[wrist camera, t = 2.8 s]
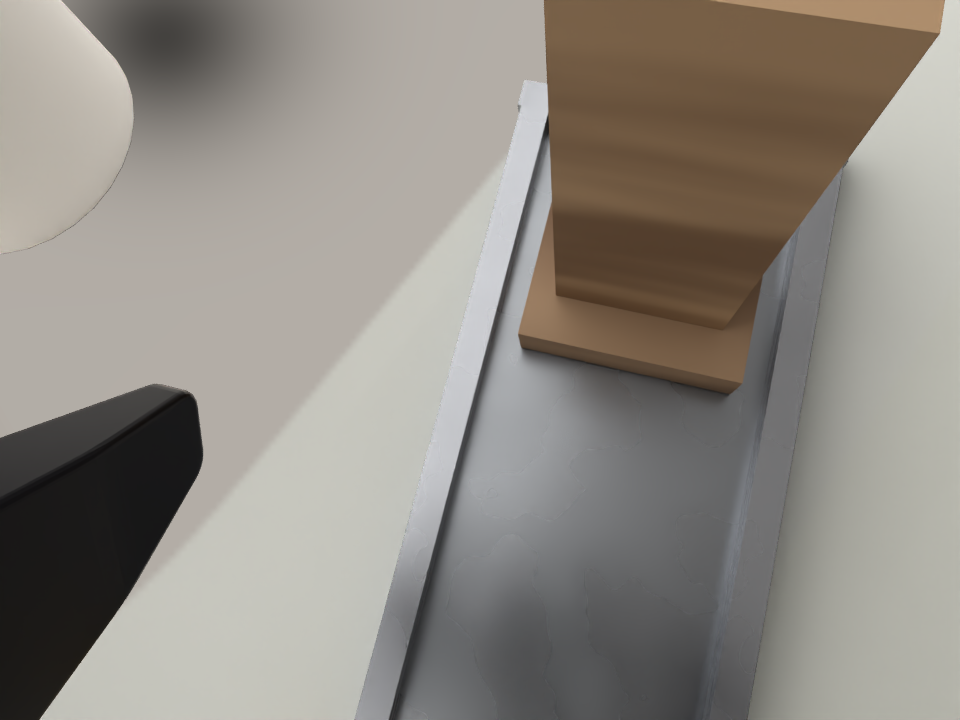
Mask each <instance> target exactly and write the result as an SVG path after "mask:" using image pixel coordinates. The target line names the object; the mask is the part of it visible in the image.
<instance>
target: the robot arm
mask: <svg viewBox="0 0 960 720" xmlns="http://www.w3.org/2000/svg"><path fill="white" fill-rule="evenodd" d="M202 461H203V446H202V439H201V430H200V422H199V414H198V406H197V401H196V399H195V398H194V396H193V394H191V393H190V392H188V391H186V390H182V389H178V388H174V387H170V386H166V385H161V384H152V385H148V386H145V387H143V388H140V389H137V390H134V391H131V392H129V393H126V394H123V395H120V396H117V397H114V398H111V399H109V400H106V401H103V402H100V403H97V404H95V405H92V406H89V407H86V408H84V409H80V410H78V411H75V412H72V413H69V414H66V415H64V416H61V417H58V418H55V419H52V420H49V421H47V422H44V423H41V424H38V425H35V426H33V427H30V428H27V429H24V430H21V431H18V432H15V433H13V434H10V435H7V436H4V437H2V438H0V720H39V719H40V718H41V717H42V715H43V714H44V712H45V711H46V710H47V708H48V707H49V706H50V704H51V703H52V701H53V700H54V699H55V697H56V696H57V694H58V693H59V692H60V690H61V689H62V687H63V686H64V685H65V683H66V682H67V681H68V679H69V678H70V676H71V675H72V674H73V672H74V671H75V669H76V668H77V667H78V665H79V664H80V663H81V661H82V660H83V658H84V657H85V656H86V654H87V653H88V651H89V650H90V649H91V647H92V646H93V645H94V643H95V642H96V640H97V639H98V638H99V636H100V635H101V633H102V632H103V631H104V629H105V628H106V627H107V625H108V624H109V622H110V621H111V620H112V618H113V617H114V615H115V614H116V612H117V611H118V610H119V608H120V607H121V605H122V604H123V602H124V601H125V599H126V598H127V596H128V595H129V593H130V592H131V590H132V588H133V587H134V585H135V583H136V582H137V580H138V578H139V577H140V575H141V573H142V572H143V570H144V568H145V566H146V564H147V563H148V561H149V559H150V558H151V556H152V554H153V552H154V551H155V549H156V547H157V545H158V543H159V542H160V540H161V539H162V537H163V535H164V533H165V532H166V530H167V528H168V526H169V524H170V523H171V521H172V519H173V518H174V516H175V514H176V512H177V511H178V509H179V507H180V505H181V504H182V502H183V500H184V498H185V497H186V495H187V493H188V492H189V490H190V488H191V486H192V485H193V483H194V481H195V479H196V478H197V476H198V474H199V471H200V468H201V465H202Z"/></svg>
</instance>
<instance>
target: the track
mask: <svg viewBox="0 0 960 720" xmlns="http://www.w3.org/2000/svg"><path fill="white" fill-rule="evenodd" d="M518 109H519V116H518V119H517V123H516V127H515V131H514V134H513V138H512V141H511V145H510V149H509V152H508V156H507V160H506V163H505V167H504V171H503V175H502V178H501V182H500V186H499V189H498V193H497V197H496V200H495V204H494V208H493V211H492V215H491V219H490V222H489V226H488V230H487V233H486V237H485V241H484V244H483V248H482V252H481V256H480V259H479V263H478V267H477V270H476V274H475V278H474V281H473V285H472V289H471V292H470V296H469V300H468V303H467V307H466V311H465V314H464V318H463V322H462V325H461V329H460V333H459V337H458V340H457V344H456V348H455V351H454V355H453V359H452V362H451V366H450V370H449V373H448V377H447V381H446V384H445V388H444V392H443V395H442V399H441V403H440V407H439V410H438V414H437V418H436V421H435V425H434V429H433V432H432V436H431V440H430V443H429V447H428V451H427V454H426V458H425V462H424V465H423V469H422V473H421V476H420V480H419V484H418V488H417V491H416V495H415V499H414V502H413V506H412V510H411V513H410V517H409V521H408V524H407V528H406V532H405V535H404V539H403V543H402V546H401V550H400V554H399V557H398V561H397V565H396V569H395V572H394V576H393V580H392V583H391V587H390V591H389V594H388V598H387V602H386V605H385V609H384V613H383V616H382V620H381V624H380V627H379V631H378V635H377V639H376V642H375V646H374V650H373V653H372V657H371V661H370V664H369V668H368V672H367V675H366V679H365V683H364V686H363V690H362V694H361V697H360V701H359V705H358V708H357V712H356V716H355V720H747V717H748V711H749V705H750V700H751V694H752V688H753V682H754V676H755V671H756V665H757V659H758V653H759V648H760V642H761V636H762V630H763V625H764V619H765V613H766V607H767V602H768V596H769V590H770V584H771V579H772V573H773V567H774V561H775V556H776V550H777V544H778V538H779V533H780V527H781V521H782V515H783V510H784V504H785V498H786V492H787V487H788V481H789V475H790V469H791V464H792V458H793V452H794V446H795V441H796V435H797V429H798V423H799V418H800V412H801V406H802V400H803V395H804V389H805V383H806V377H807V372H808V366H809V360H810V354H811V348H812V343H813V337H814V331H815V325H816V320H817V314H818V308H819V302H820V297H821V291H822V285H823V279H824V274H825V268H826V262H827V256H828V251H829V245H830V239H831V233H832V228H833V222H834V216H835V210H836V205H837V199H838V193H839V187H840V182H841V176H842V170H843V168H844V166H845V165H846V164H847V162H848V160H847V161H846V162H845V164H844V165H843V167H842V168H841V169H840V171H839V172H838V173H837V175H836V176H835V177H834V179H833V180H832V182H831V183H830V184H829V186H828V187H827V188H826V190H825V191H824V192H823V194H822V195H821V197H820V198H819V199H818V201H817V202H816V203H815V205H814V206H813V208H812V209H811V210H810V212H809V213H808V214H807V216H806V217H805V218H804V220H803V221H802V223H801V224H800V225H799V227H798V228H797V229H796V231H795V232H794V233H793V235H792V236H791V238H790V239H789V240H788V242H787V243H786V244H785V246H784V247H783V249H782V250H781V251H780V253H779V254H778V255H777V257H776V258H775V259H774V261H773V262H772V264H771V265H770V266H769V268H768V269H767V270H766V272H765V273H764V274H763V278H762V284H761V289H760V294H759V299H758V305H757V310H756V315H755V320H754V326H753V331H752V336H751V341H750V347H749V352H748V357H747V362H746V368H745V373H744V378H743V383H742V384H741V385H740V386H739V387H738V388H737V389H736V390H735V391H734V392H733V393H731V394H727V393H722V392H718V391H713V390H709V389H704V388H700V387H695V386H691V385H686V384H682V383H678V382H673V381H669V380H664V379H660V378H655V377H651V376H646V375H642V374H637V373H633V372H629V371H624V370H620V369H615V368H611V367H606V366H602V365H597V364H593V363H588V362H584V361H579V360H575V359H571V358H566V357H562V356H557V355H553V354H548V353H544V352H539V351H535V350H530V349H526V348H521V346H520V341H519V337H518V331H519V327H520V323H521V319H522V315H523V311H524V308H525V304H526V300H527V296H528V292H529V288H530V284H531V280H532V276H533V272H534V268H535V264H536V261H537V257H538V253H539V249H540V245H541V241H542V237H543V233H544V229H545V225H546V221H547V217H548V214H549V210H550V206H551V202H552V190H551V165H550V140H549V115H548V90H547V84H546V83H540V82H534V81H528V80H525V81H524V84H523V88H522V91H521V95H520V99H519V103H518ZM848 159H849V158H848Z"/></svg>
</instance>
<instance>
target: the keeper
mask: <svg viewBox="0 0 960 720" xmlns="http://www.w3.org/2000/svg"><path fill="white" fill-rule="evenodd" d="M944 3H945V0H544V15H545V40H546V64H547V90H548V115H549V140H550V165H551V190H552V202H551V206H550V210H549V214H548V217H547V221H546V225H545V229H544V233H543V237H542V241H541V245H540V249H539V253H538V257H537V261H536V264H535V268H534V272H533V276H532V280H531V284H530V288H529V292H528V296H527V300H526V304H525V308H524V311H523V315H522V319H521V323H520V327H519V331H518V337H519V341H520V346H521V348H526V349H530V350H535V351H539V352H544V353H548V354H553V355H557V356H562V357H566V358H571V359H575V360H579V361H584V362H588V363H593V364H597V365H602V366H606V367H611V368H615V369H620V370H624V371H629V372H633V373H637V374H642V375H646V376H651V377H655V378H660V379H664V380H669V381H673V382H678V383H682V384H686V385H691V386H695V387H700V388H704V389H709V390H713V391H718V392H722V393H727V394H731V393H733V392H734V391H735V390H736V389H737V388H738V387H739V386H740V385H741V384H742V383H743V378H744V373H745V368H746V362H747V357H748V352H749V347H750V341H751V336H752V331H753V326H754V320H755V315H756V310H757V305H758V299H759V294H760V289H761V284H762V278H763V274H764V273H765V272H766V270H767V269H768V268H769V266H770V265H771V264H772V262H773V261H774V259H775V258H776V257H777V255H778V254H779V253H780V251H781V250H782V249H783V247H784V246H785V244H786V243H787V242H788V240H789V239H790V238H791V236H792V235H793V233H794V232H795V231H796V229H797V228H798V227H799V225H800V224H801V223H802V221H803V220H804V218H805V217H806V216H807V214H808V213H809V212H810V210H811V209H812V208H813V206H814V205H815V203H816V202H817V201H818V199H819V198H820V197H821V195H822V194H823V192H824V191H825V190H826V188H827V187H828V186H829V184H830V183H831V182H832V180H833V179H834V177H835V176H836V175H837V173H838V172H839V171H840V169H841V168H842V167H843V165H844V164H845V162H846V161H847V160H848V158H849V157H850V156H851V154H852V153H853V151H854V150H855V149H856V147H857V146H858V145H859V143H860V142H861V141H862V139H863V138H864V136H865V135H866V134H867V132H868V131H869V130H870V128H871V127H872V126H873V124H874V123H875V121H876V120H877V119H878V117H879V116H880V115H881V113H882V112H883V110H884V109H885V108H886V106H887V105H888V104H889V102H890V101H891V100H892V98H893V97H894V95H895V94H896V93H897V91H898V90H899V89H900V87H901V86H902V85H903V83H904V82H905V80H906V79H907V78H908V76H909V75H910V74H911V72H912V71H913V69H914V68H915V67H916V65H917V64H918V63H919V61H920V60H921V59H922V57H923V56H924V54H925V53H926V52H927V50H928V49H929V48H930V46H931V45H932V44H933V42H934V41H935V39H936V38H937V37H938V35H939V34H940V29H941V22H942V16H943V9H944Z"/></svg>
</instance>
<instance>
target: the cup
mask: <svg viewBox="0 0 960 720" xmlns="http://www.w3.org/2000/svg"><path fill="white" fill-rule="evenodd" d="M133 125H134V108H133V97H132V94H131V91H130V87H129V84H128V80H127V77H126V76H125V74H124V72H123V71H122V69H121V67H120V66H119V64H118V62H117V60H116V59H115V58H114V57H113V56H112V55H111V54H110V53H109V52H108V51H107V49H106V48H105V47H104V46H103V45H102V44H101V43H100V42H99V41H98V40H97V39H96V38H95V37H94V35H93V34H92V33H91V32H90V31H89V30H88V29H87V28H86V27H85V26H84V25H83V24H82V22H81V21H80V20H79V19H78V18H77V17H76V16H75V15H74V14H73V13H72V12H71V11H70V10H69V8H68V7H67V6H66V5H65V4H64V3H63V2H62V1H61V0H0V254H6V253H11V252H15V251H20V250H25V249H29V248H32V247H34V246H36V245H39V244H41V243H44V242H46V241H49V240H51V239H53V238H55V237H56V236H58V235H60V234H61V233H63V232H64V231H66V230H68V229H69V228H71V227H72V226H74V225H75V224H76V223H78V222H79V221H80V220H81V219H82V218H83V217H84V216H86V215H87V214H88V213H89V212H90V211H91V210H92V209H94V208H95V206H96V205H97V204H98V202H99V201H100V200H101V199H102V198H103V197H104V195H105V194H106V193H107V192H108V190H109V189H110V188H111V186H112V184H113V183H114V181H115V179H116V177H117V175H118V174H119V172H120V170H121V168H122V166H123V164H124V161H125V159H126V156H127V153H128V150H129V147H130V144H131V139H132V132H133Z"/></svg>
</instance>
